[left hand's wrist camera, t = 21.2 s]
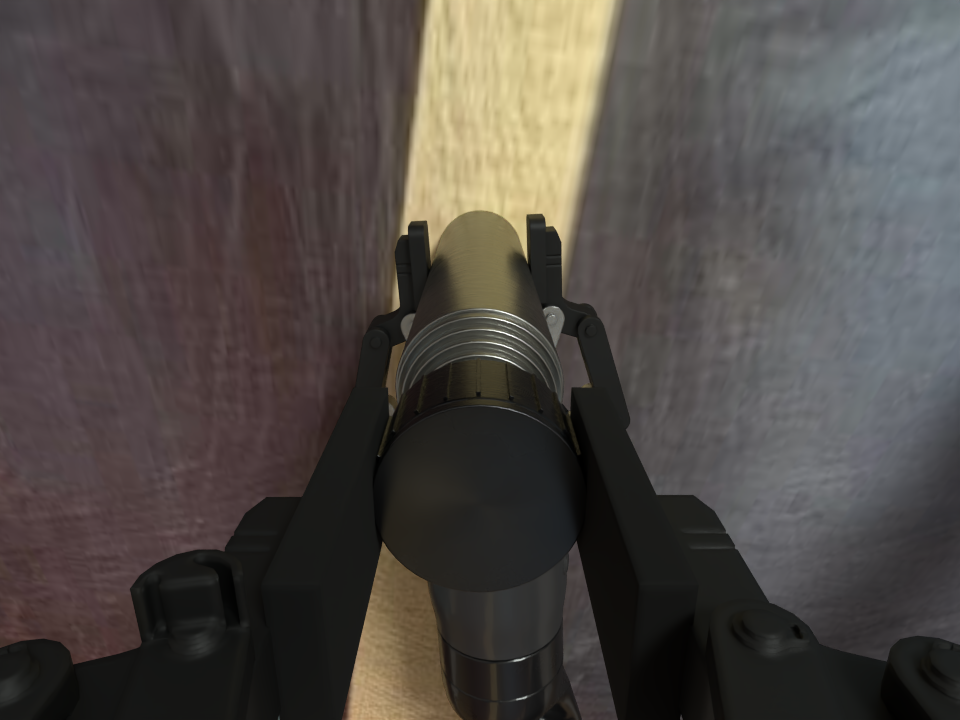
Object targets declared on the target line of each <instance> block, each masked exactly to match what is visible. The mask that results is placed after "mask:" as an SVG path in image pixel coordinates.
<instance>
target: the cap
mask: <svg viewBox="0 0 960 720" xmlns="http://www.w3.org/2000/svg"><path fill="white" fill-rule="evenodd" d="M580 458H582V454H581V450H580V447H579V444H578V441H577V437H576V434H575V431H574V427H573V424H572V421H571V418H570V415H569V414H567V415H566V412H565V410H564V408H563V406H562V404H561V403H560V401H559V399H558V396H557V393H556V392H555V391H554V392H552V391H551V390H550V389H549V387H548V386H546V385H545V384H544V383H543V382H542V381H541V380H539V379H538V378H537V376H536V374H534V373H533V374H530V373H529V372H527V371H525V370H523V369H521V368H518V367H516V366H513V365H511V364H510V363H509V362H506V363H503V362H497V361H491V360H481V358H477V360H468V361H462V362H456V363H453V364H452V363H451V362H450V363H447V365H446V366H443V367H441V368H439V369H436V370H434V371H432V372H431V373H429V374H427V375H425V374H424V375H422V376H421V379H420V380H419V381H418V382H416V383H415V384H414V385H413V386H412V387H411V388H410V389H409V390H408V391H407V392H406V393H402V395H401V398H400V401H399V403H398V405H397V407H396V409H395V411H394V413H393V415H392V416H389V418H388V421H387V425H386V428H385V431H384V434H383V438H382V441H381V444H380V447H379V451H378V454H377V457H376V459H377V460H379V461H378V465H377V468H376V471H375V475H374V478H373V502H374V517H375V524H376V527H377V530H378V532H379V534H380V536H381V538H382V540H383V542H384V543H385V545H386V546H387V548H388V549H389V551H390V552H391V553H392V554H393V555H394V557H395V558H396V559H397V560H398V561H399V562H400V563H402V564H403V565H404V566H405V567H406V568H407V569H409V570H410V571H412V572H413V573H414V574H416V575H418V576H419V577H421V578H423V579H425V580H427V581H429V582H431V583H434V584H436V585H439V586H442V587H445V588H449V589H453V590H458V591H464V592H494V591H501V590H506V589H510V588H514V587H518V586H520V585H523V584H525V583H528V582H530V581H532V580H534V579H536V578H538V577H540V576H542V575H543V574H545V573H546V572H548V571H549V570H550V569H552V568H553V567H554V566H555V565H556V564H558V563H559V562H560V561H561V560H562V559H563V558H564V557H565V555H566V554H567V553H568V552H569V551H570V550H571V548H572V547H573V545H574V543H575V542H576V540H577V539H578V536H579V534H580V532H581V530H582V528H583V525H584V521H585V511H586V495H587V483H586V478H585V475H584V471H583V468H582V464H581V461H580Z"/></svg>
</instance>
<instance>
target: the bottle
mask: <svg viewBox="0 0 960 720" xmlns="http://www.w3.org/2000/svg"><path fill="white" fill-rule="evenodd" d="M477 358H481V360H491V361H497V362H503V363H506V362H509V363H510V364H511V365H513V366H516V367H518V368H521V369H523V370H525V371H527V372H529V373H530V374H533V373H534V374H536V376H537V378H538V379H539V380H541V381H542V382H543V383H544V384H545V385H546V386H548V387H549V389H550V390H551V391H552V392H554V391H555V392H556V393H557V396H558V399H559V401H560V403H561V404H562V400H563V393H564V378H563V371H562V367H561V364H560V360H559V357H558V354H557V351H556V348H555V345H554V342H553V339H552V336H551V333H550V330H549V327H548V324H547V321H546V318H545V315H544V312H543V309H542V306H541V303H540V300H539V297H538V294H537V291H536V288H535V285H534V282H533V279H532V276H531V273H530V270H529V267H528V264H527V261H526V258H525V255H524V252H523V249H522V246H521V243H520V240H519V237H518V235H517V232H516V231H515V229H514V228H513V226H512V225H511V224H510V223H509V222H508V221H507V220H506V219H504V218H503V217H501V216H499V215H498V214H495V213H493V212H489V211H471V212H468V213H465V214H462V215H460V216H459V217H457V218H455V219H454V220H453V221H452V222H451V223H450V224H449V225H448V226H447V228H446V229H445V230H444V232H443V234H442V237H441V239H440V242H439V245H438V248H437V251H436V254H435V257H434V260H433V263H432V266H431V269H430V272H429V275H428V278H427V281H426V284H425V287H424V290H423V293H422V296H421V299H420V302H419V305H418V308H417V311H416V314H415V317H414V320H413V323H412V326H411V329H410V332H409V335H408V338H407V341H406V344H405V347H404V350H403V353H402V356H401V359H400V362H399V365H398V369H397V374H396V386H395V387H396V398H397V404H398V403H399V401H400V398H401V395H402V393H406V392H407V391H408V390H409V389H410V388H411V387H412V386H413V385H414V384H415V383H416V382H418V381H419V380H420V379H421V376H422V375H424V374H425V375H427V374H429V373H431V372H432V371H434V370H436V369H439V368H441V367H443V366H446V365H447V363H450V362H451V363H452V364H453V363H456V362H462V361H468V360H477Z"/></svg>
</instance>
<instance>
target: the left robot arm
mask: <svg viewBox="0 0 960 720" xmlns="http://www.w3.org/2000/svg"><path fill="white" fill-rule="evenodd" d="M388 418H389V398H388V388H353V390H352V392H351V394H350V397H349V399H348V401H347V403H346V405H345V407H344V409H343V411H342V414H341V416H340V418H339V420H338V422H337V424H336V426H335V428H334V431H333V433H332V435H331V437H330V439H329V441H328V443H327V445H326V448H325V450H324V452H323V454H322V456H321V458H320V460H319V462H318V464H317V467H316V469H315V471H314V473H313V475H312V477H311V479H310V481H309V484H308V486H307V488H306V490H305V492H304V494H303V496H302V497H266V498H265V499H263V500H262V501H261V502H260V503H258V504H257V505H256V506H254V507H253V508H252V509H250V510H249V511H248V512H246V513H245V515H244V517H243V518H242V520H241V522H240V523H239V525H238V527H237V528H236V530H235V532H234V536H232V537H231V538H230V540H229V542H228V543H227V545H226V547H225V552H223V551H220V550H194V551H190V552H185V553H181V554H176V555H174V556H172V557H170V558H167V559H165V560H163V561H160V562H158V563H156V564H155V565H153V566H152V567H151V568H149V569H148V570H147V571H145V572H144V573H142V574H141V575H140V576H139V577H138V579H137V580H136V581H135V583H134V584H133V586H132V587H131V588H130V591H131V596H132V600H133V605H134V609H135V613H136V618H137V622H138V627H139V631H140V636H141V640H142V643H141V646H140V647H139V648H136V649H133V650H130V651H127V652H123V653H120V654H116V655H112V656H108V657H103V658H99V659H95V660H91V661H86V662H82V663H78V664H74V665H73V662H72V658H71V655H70V651H69V650H68V649H67V648H66V647H65V646H64V645H63V644H61V643H60V642H57V641H52V640H47V639H36V640H27V641H20V642H17V643H14V644H11V645H8V646H5V647H2V648H0V720H278V717H279V719H280V720H342V716H343V712H344V707H345V703H346V699H347V694H348V690H349V686H350V681H351V677H352V673H353V668H354V664H355V660H356V655H357V651H358V647H359V642H360V638H361V633H362V629H363V625H364V620H365V616H366V612H367V607H368V603H369V599H370V594H371V590H372V586H373V581H374V577H375V573H376V568H377V564H378V560H379V555H380V551H381V547H382V542H383V540H382V538H381V536H380V534H379V532H378V530H377V527H376V524H375V517H374V502H373V478H374V475H375V471H376V468H377V465H378V461H379V460H377V459H376V457H377V454H378V451H379V447H380V444H381V441H382V438H383V434H384V431H385V428H386V425H387V421H388ZM570 418H571V421H572V424H573V427H574V431H575V434H576V437H577V441H578V444H579V447H580V450H581V454H582V458H580V461H581V464H582V468H583V471H584V475H585V478H586V483H587V495H586V511H585V521H584V525H583V528H582V530H581V532H580V534H579V536H578V539H577V544H578V548H579V553H580V557H581V561H582V566H583V570H584V574H585V579H586V583H587V587H588V592H589V596H590V600H591V605H592V609H593V613H594V618H595V622H596V627H597V631H598V635H599V640H600V644H601V648H602V653H603V657H604V661H605V666H606V670H607V674H608V679H609V683H610V687H611V692H612V696H613V700H614V705H615V709H616V713H617V718H618V720H680V716H681V715H682V718H683V720H960V645H958V644H955V643H952V642H949V641H946V640H943V639H940V638H932V637H923V636H914V637H909V638H904V639H900V640H899V641H898V642H897V643H896V644H895V645H894V646H893V647H892V648H891V649H890V653H889V657H888V660H887V662H885V661H881V660H877V659H872V658H868V657H864V656H859V655H855V654H851V653H847V652H842V651H839V650H835V649H832V648H829V647H826V646H823V645H821V644H819V642H818V640H817V639H816V637H815V636H814V634H813V632H812V631H811V629H810V628H809V626H807V625H806V624H805V623H804V622H803V621H801V620H800V619H799V618H798V617H797V616H795V615H794V614H793V613H791V612H789V611H787V610H785V609H783V608H781V607H779V606H777V605H775V604H771V603H769V601H768V600H767V598H766V596H765V595H764V593H763V591H762V590H761V588H760V586H759V585H758V583H757V581H756V580H755V578H754V576H753V575H752V573H751V571H750V570H749V568H748V566H747V565H746V563H745V561H744V560H743V558H742V556H741V555H740V553H739V551H738V550H737V549H735V545H734V543H733V541H732V540H731V538H730V536H729V535H728V534H726V530H725V528H724V526H723V525H722V523H721V521H720V520H719V518H718V516H717V515H716V513H715V511H713V510H712V509H711V508H710V507H708V506H707V505H706V504H704V503H703V502H702V501H700V500H699V499H698V498H696V497H695V496H694V495H656V493H655V491H654V489H653V487H652V484H651V482H650V480H649V478H648V476H647V474H646V472H645V470H644V468H643V465H642V463H641V461H640V459H639V457H638V455H637V453H636V451H635V448H634V446H633V444H632V442H631V440H630V438H629V436H628V434H627V431H626V429H625V427H624V425H623V423H622V421H621V419H620V417H619V414H618V412H617V410H616V408H615V406H614V404H613V402H612V400H611V397H610V395H609V393H608V391H607V389H606V388H572V391H571V410H570Z"/></svg>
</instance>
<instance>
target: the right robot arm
mask: <svg viewBox="0 0 960 720" xmlns="http://www.w3.org/2000/svg"><path fill="white" fill-rule="evenodd" d="M526 223H527V257H528V267H529V270H530V273H531V276H532V279H533V282H534V285H535V288H536V291H537V294H538V297H539V300H540V303H541V306H542V309H543V312H544V315H545V318H546V321H547V324H548V327H549V330H550V333H551V336H552V339H553V342H554V345H555V348H556V346H557V343H558V340H559V337H560V333H564V334H567V335H571V336H574V337H577V340H578V344H579V347H580V350H581V354H582V357H583V360H584V364H585V367H586V370H587V374H588V377H589V380H590V383H588V384H585V385H584V386H582V387H581V388H606V389H607V391H608V393H609V395H610V397H611V400H612V402H613V404H614V406H615V408H616V410H617V412H618V414H619V417H620V419H621V421H622V423H623V425H624V427H625V429H626V428H627V427H628V426H629V424H630V417H629V413H628V410H627V406H626V403H625V399H624V395H623V392H622V388H621V385H620V381H619V378H618V374H617V371H616V367H615V364H614V360H613V356H612V353H611V349H610V346H609V342H608V339H607V335H606V332H605V328H604V325H603V323H602V321H601V320H600V319H599V318H598V317H597V314H596V312H595V310H594V308H593V307H592V306H591V305H589V304H585V303H583V304H576V303H573V302H569V301H567V300H565V299H564V298H563V297H562V266H561V264H562V261H561V241H560V238H559V236H558V233H557V231H556V230H555V228H554V227H553V226H550V227H546V224H545V217H544V216H543V214H528V215H527V217H526ZM395 259H396V269H397V279H398V289H399V299H400V307H399V308H398V309H397V310H396V311H394V312H391V313H389V314H387V315H379V316H377V317H375V318H374V319H373V321H372V323H371V324H370V326H369V328H368V330H367V332H366V334H365V336H364V338H363V343H362V349H361V355H360V361H359V367H358V373H357V380H356V386H355V388H385V385H386V380H387V374H388V369H389V363H390V358H391V352H392V347H393V346H395V345H397V344H400V343H402V342H405V341H407V338H408V335H409V332H410V329H411V326H412V323H413V320H414V317H415V314H416V311H417V308H418V305H419V302H420V299H421V296H422V293H423V290H424V287H425V284H426V281H427V278H428V275H429V272H430V269H431V260H430V248H429V236H428V225H427V221H411V223H410V224H409V226H408V235H402V236H401V237H400V238H399V240H398V243H397V246H396V250H395ZM388 398H389V416H392V415H393V413H394V411H395V409H396V407H397V402H396V400H395V398H394V397H392V396H391V395H388ZM562 406H563V408H564V410H565V412H566V415H567V414H569V415H570V411H568V410H567V409H566V408H565V406H564V405H563V404H562ZM568 563H569V554H568V553H567V554H566V555H565V557H564V558H563V559H562V560H561V561H560V562H559V563H558V564H556V565H555V566H554V567H553V568H552V569H550V570H549V571H548V572H546V573H545V574H543V575H542V576H540V577H538V578H536V579H534V580H532V581H530V582H528V583H525V584H523V585H520V586H518V587H514V588H510V589H506V590H501V591H494V592H464V591H458V590H453V589H449V588H445V587H442V586H439V585H436V584H434V583H431V582H429V581H428V587H429V593H430V597H431V601H432V605H433V609H434V612H435V616H436V622H437V632H438V642H439V653H440V662H441V672H442V679H443V683H444V687H445V691H446V695H447V698H448V700H449V702H450V704H451V705H452V707H453V709H454V710H455V712H456V713H457V714H458V715H459V716H460V717H461V719H463V720H582V718H581V715H580V712H579V709H578V706H577V703H576V700H575V697H574V694H573V691H572V687H571V684H570V681H569V679H568V676H567V674H566V671H565V669H564V667H563V617H562V616H563V605H564V599H565V592H566V583H567V570H568Z"/></svg>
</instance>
